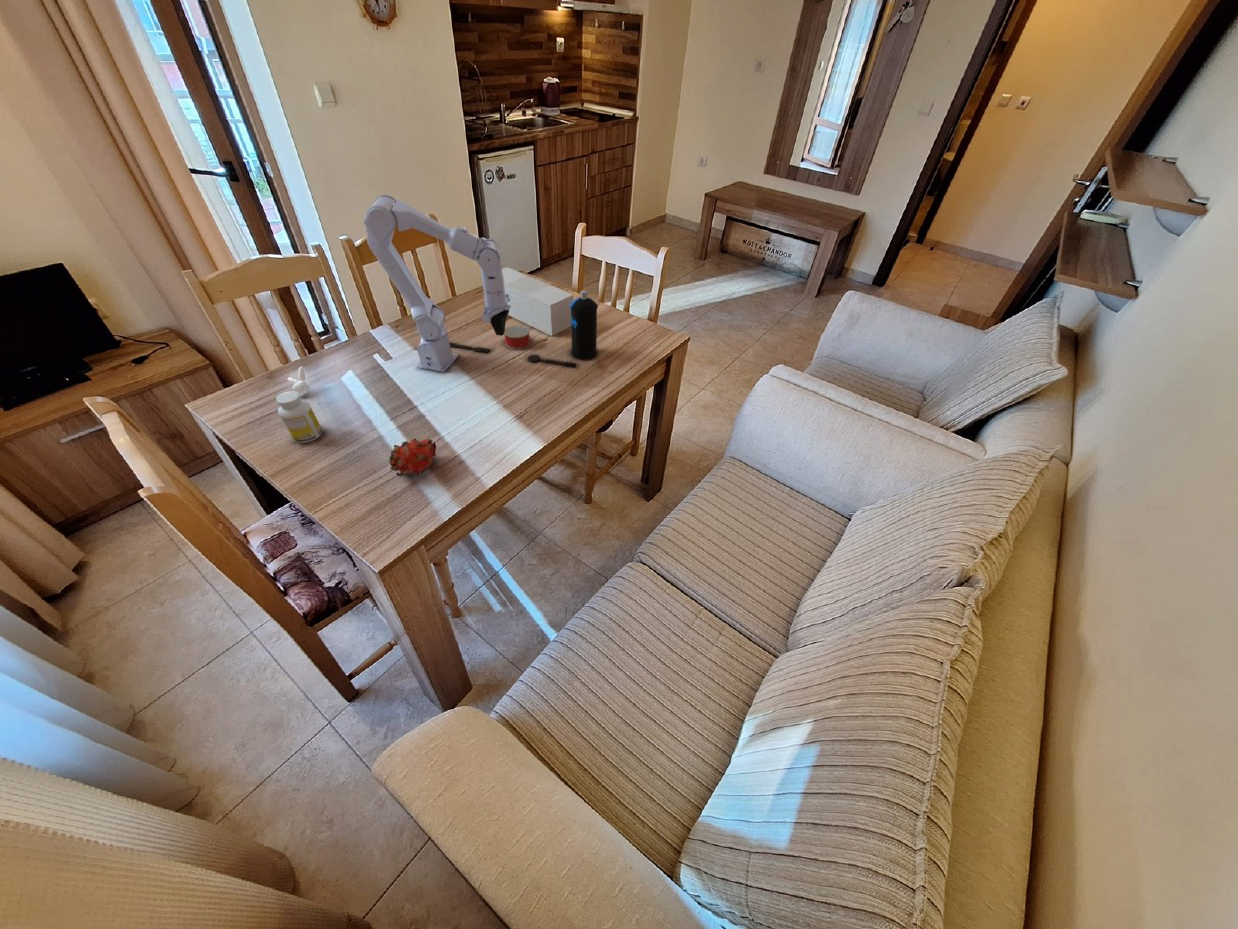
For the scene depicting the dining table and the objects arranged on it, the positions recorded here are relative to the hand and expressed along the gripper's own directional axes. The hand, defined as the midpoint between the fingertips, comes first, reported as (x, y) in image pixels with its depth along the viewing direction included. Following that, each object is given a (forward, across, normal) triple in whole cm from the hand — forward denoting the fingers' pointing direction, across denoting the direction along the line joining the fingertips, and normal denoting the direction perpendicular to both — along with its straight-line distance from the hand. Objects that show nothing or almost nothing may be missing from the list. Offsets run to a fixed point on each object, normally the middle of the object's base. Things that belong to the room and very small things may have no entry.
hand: (500, 334), depth 140 cm
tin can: (+8, +10, -1) cm, 13 cm away
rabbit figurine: (+9, -31, +45) cm, 55 cm away
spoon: (+8, +3, -15) cm, 17 cm away
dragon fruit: (+9, -49, 0) cm, 50 cm away
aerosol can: (+8, +11, -23) cm, 26 cm away
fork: (+8, +2, +13) cm, 16 cm away
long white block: (+8, +29, +2) cm, 31 cm away
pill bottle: (+9, -47, +31) cm, 57 cm away
